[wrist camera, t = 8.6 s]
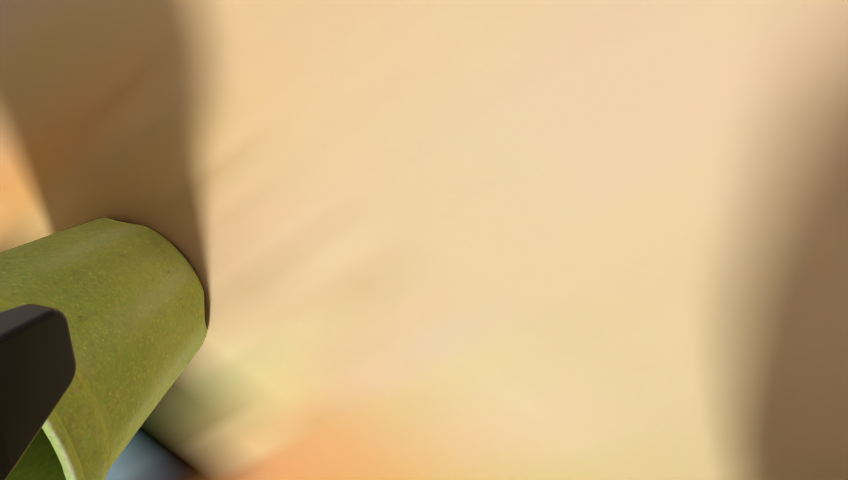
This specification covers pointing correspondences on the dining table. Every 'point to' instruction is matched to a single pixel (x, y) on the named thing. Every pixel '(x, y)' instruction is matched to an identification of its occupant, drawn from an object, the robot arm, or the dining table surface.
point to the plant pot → (106, 336)
